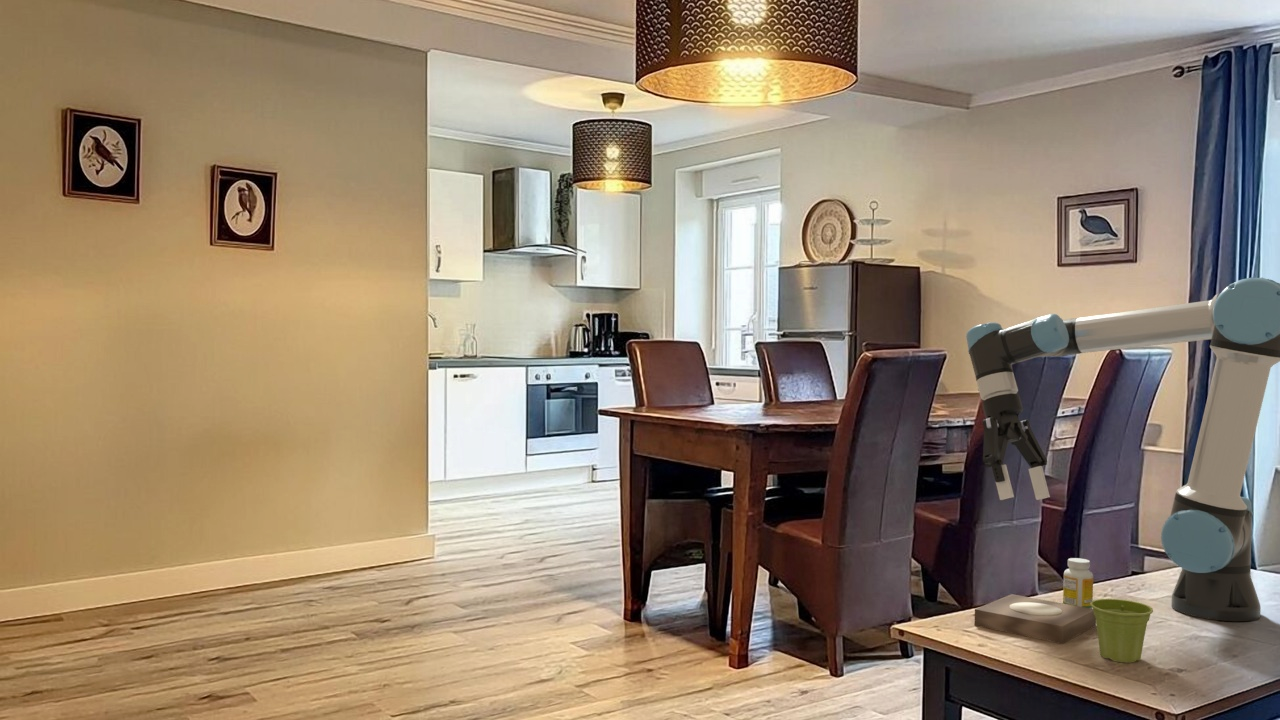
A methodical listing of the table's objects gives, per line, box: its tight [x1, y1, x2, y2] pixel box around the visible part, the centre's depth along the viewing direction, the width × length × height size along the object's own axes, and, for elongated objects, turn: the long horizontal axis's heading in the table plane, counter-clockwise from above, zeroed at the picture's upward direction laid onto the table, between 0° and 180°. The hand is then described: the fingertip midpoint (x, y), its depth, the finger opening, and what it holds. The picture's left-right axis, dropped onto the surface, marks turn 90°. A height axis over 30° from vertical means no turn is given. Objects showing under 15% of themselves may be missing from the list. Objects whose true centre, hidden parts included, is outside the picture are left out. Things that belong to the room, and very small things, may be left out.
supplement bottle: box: [1062, 557, 1094, 609], centre depth 201 cm, size 5×5×10 cm
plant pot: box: [1090, 598, 1154, 664], centre depth 170 cm, size 9×9×9 cm
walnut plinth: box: [974, 593, 1097, 645], centre depth 189 cm, size 16×16×3 cm
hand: (1025, 498), depth 205 cm, fingers open, 13 cm apart
